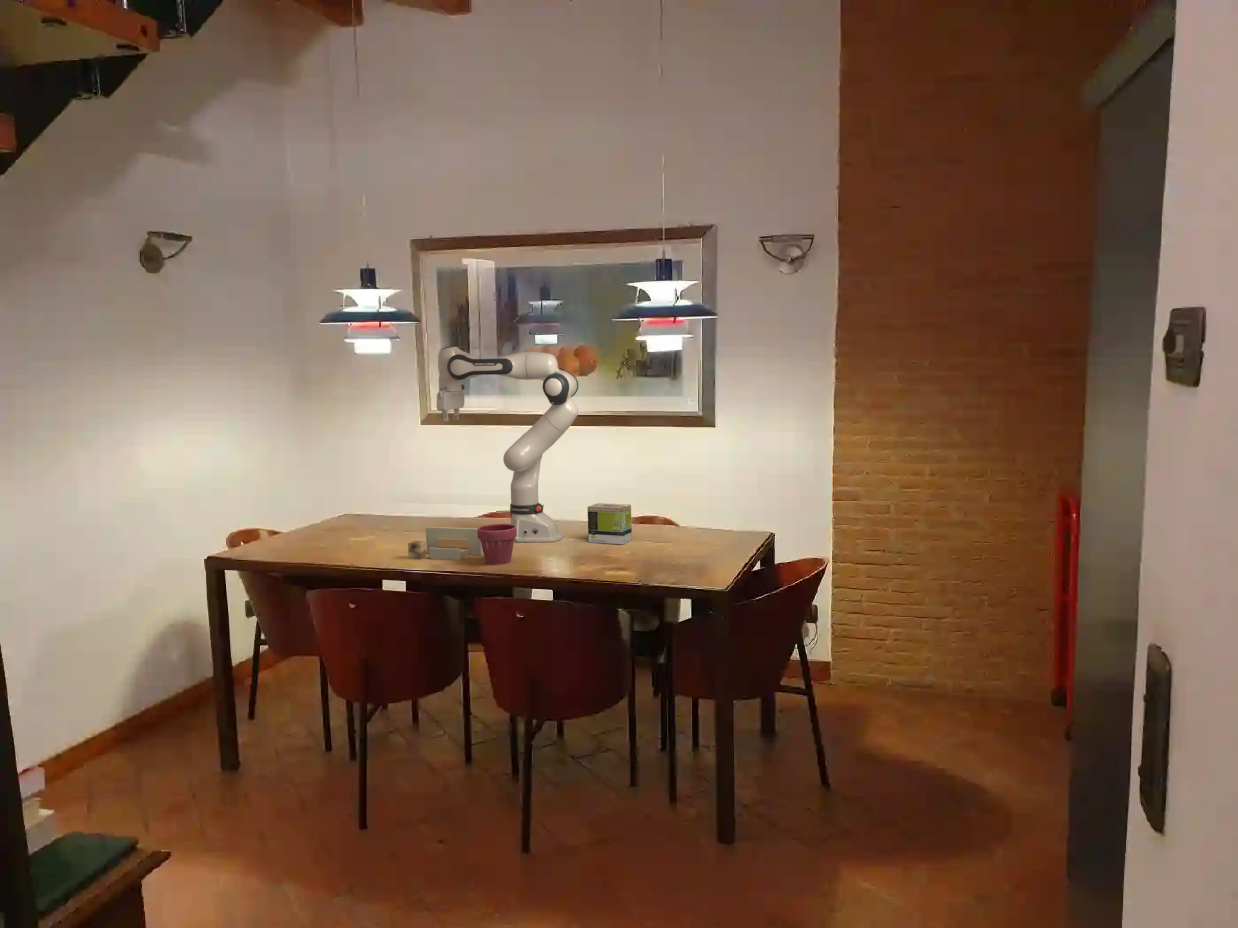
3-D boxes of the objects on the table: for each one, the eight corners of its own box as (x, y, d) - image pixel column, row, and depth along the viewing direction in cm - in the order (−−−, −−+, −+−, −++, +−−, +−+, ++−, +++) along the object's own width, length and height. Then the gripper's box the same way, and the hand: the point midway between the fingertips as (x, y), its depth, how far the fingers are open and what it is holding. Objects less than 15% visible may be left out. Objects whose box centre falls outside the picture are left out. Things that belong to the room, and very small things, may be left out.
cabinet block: (426, 556, 349) (425, 541, 348) (419, 560, 344) (419, 544, 343) (413, 556, 350) (413, 540, 349) (407, 559, 345) (406, 543, 344)
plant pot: (480, 557, 346) (479, 523, 344) (518, 556, 347) (517, 522, 345) (477, 566, 331) (475, 531, 330) (516, 565, 332) (515, 530, 331)
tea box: (632, 540, 372) (631, 503, 370) (622, 545, 363) (621, 508, 361) (598, 537, 378) (597, 501, 376) (587, 542, 369) (586, 505, 367)
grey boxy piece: (483, 554, 351) (482, 528, 350) (472, 560, 341) (471, 533, 340) (429, 552, 356) (427, 526, 355) (417, 558, 346) (416, 531, 345)
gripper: (446, 387, 369) (448, 422, 371) (466, 385, 389) (467, 418, 390) (431, 388, 370) (433, 422, 372) (452, 385, 390) (453, 418, 392)
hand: (451, 420), depth 381 cm, fingers open, 8 cm apart
